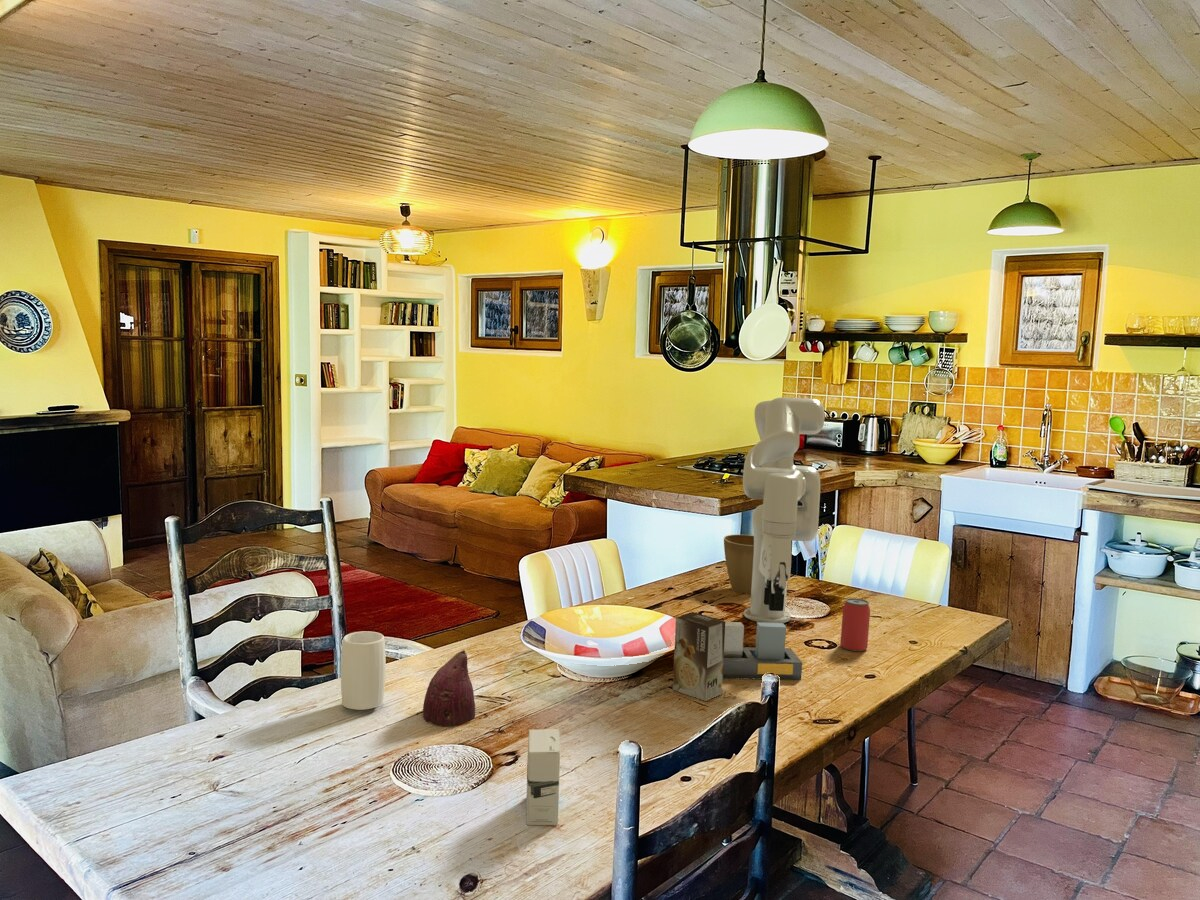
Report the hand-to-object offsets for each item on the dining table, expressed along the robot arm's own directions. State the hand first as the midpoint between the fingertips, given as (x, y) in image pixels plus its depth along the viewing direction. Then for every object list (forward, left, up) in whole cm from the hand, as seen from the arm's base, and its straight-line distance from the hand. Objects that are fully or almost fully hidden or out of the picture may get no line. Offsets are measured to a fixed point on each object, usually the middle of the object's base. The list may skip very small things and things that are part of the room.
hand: (773, 606), depth 204 cm
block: (0, 0, -14) cm, 14 cm away
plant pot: (-69, +10, -15) cm, 71 cm away
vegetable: (+27, -70, -16) cm, 77 cm away
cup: (+24, -87, -15) cm, 91 cm away
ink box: (+63, -52, -15) cm, 83 cm away
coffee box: (+13, -19, -15) cm, 28 cm away
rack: (0, -5, -15) cm, 16 cm away
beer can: (-18, +26, -15) cm, 35 cm away
